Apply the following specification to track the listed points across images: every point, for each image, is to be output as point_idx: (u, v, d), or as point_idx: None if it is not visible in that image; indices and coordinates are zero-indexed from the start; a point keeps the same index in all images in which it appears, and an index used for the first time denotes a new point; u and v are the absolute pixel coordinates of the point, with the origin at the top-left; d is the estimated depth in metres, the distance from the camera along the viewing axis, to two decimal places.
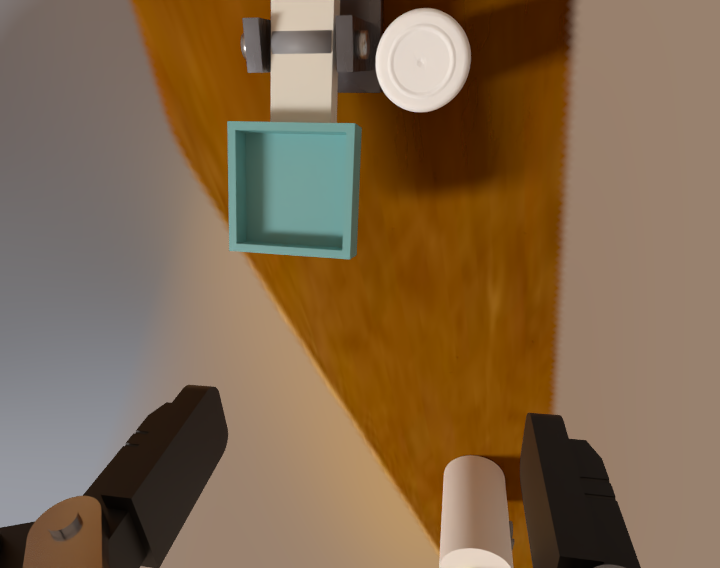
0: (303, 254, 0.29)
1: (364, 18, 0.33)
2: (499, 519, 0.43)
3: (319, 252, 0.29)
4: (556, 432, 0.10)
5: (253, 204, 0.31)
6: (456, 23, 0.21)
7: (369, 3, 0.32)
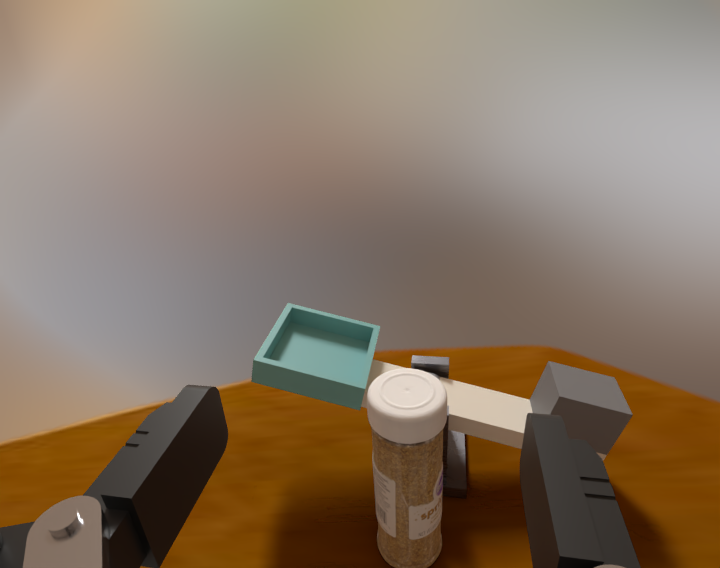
0: (269, 336, 0.35)
1: (450, 475, 0.36)
2: None
3: (267, 344, 0.34)
4: (556, 432, 0.10)
5: (316, 332, 0.39)
6: (434, 412, 0.25)
7: (462, 480, 0.36)
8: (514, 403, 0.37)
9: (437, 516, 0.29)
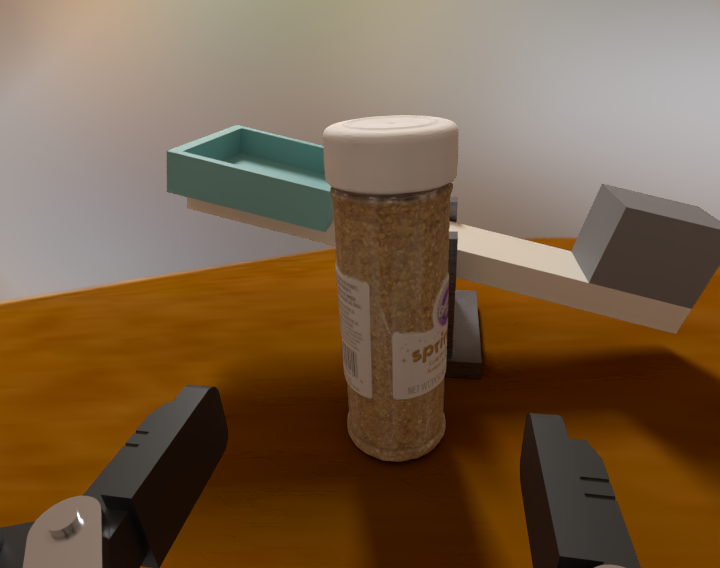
0: (199, 140, 0.24)
1: (458, 349, 0.25)
2: None
3: (193, 144, 0.23)
4: (556, 432, 0.10)
5: (274, 163, 0.28)
6: (436, 133, 0.14)
7: (475, 353, 0.25)
8: (550, 251, 0.26)
9: (438, 365, 0.18)
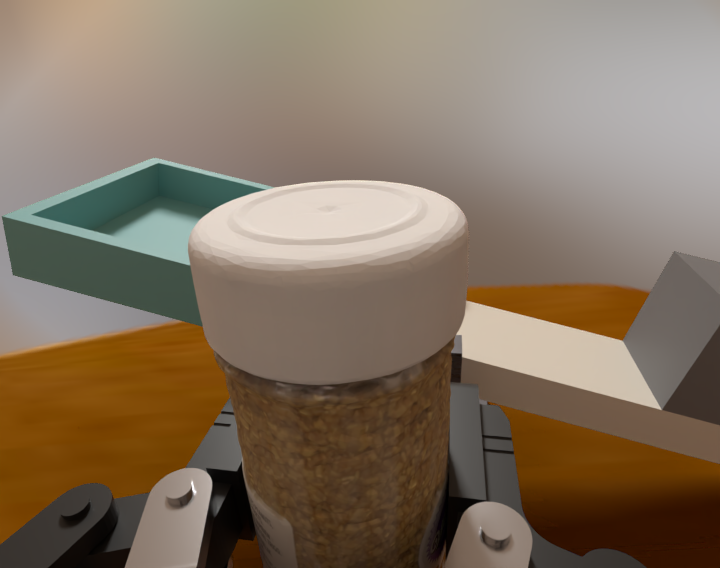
0: (76, 189, 0.16)
1: None
2: None
3: (59, 199, 0.15)
4: (469, 397, 0.11)
5: (205, 212, 0.20)
6: (420, 255, 0.06)
7: None
8: (594, 345, 0.18)
9: None
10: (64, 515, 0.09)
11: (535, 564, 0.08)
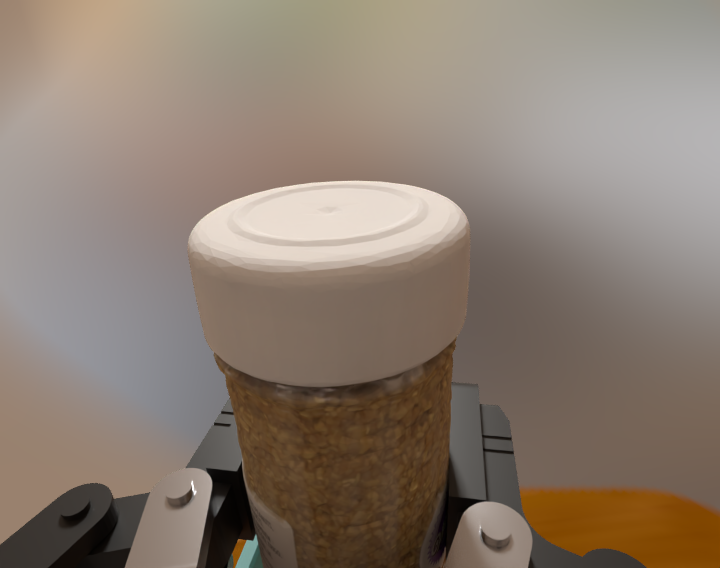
0: None
1: None
2: None
3: None
4: (470, 397, 0.11)
5: None
6: (421, 257, 0.06)
7: None
8: None
9: None
10: (64, 515, 0.09)
11: (535, 564, 0.08)
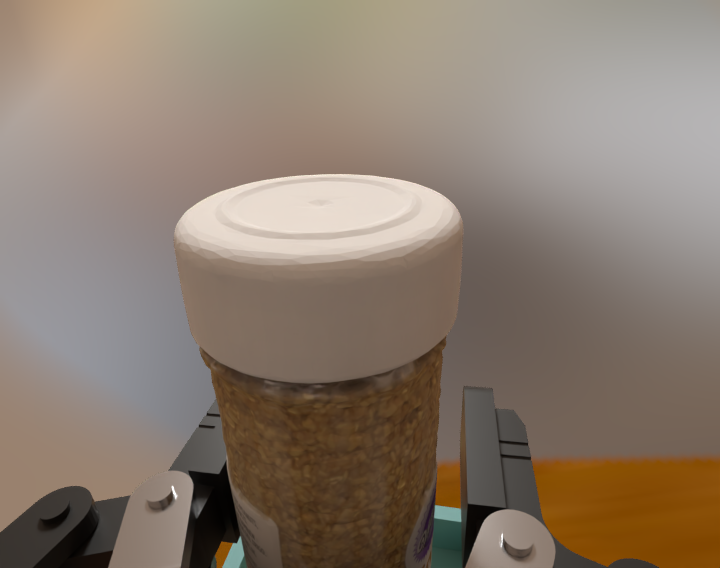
0: None
1: None
2: None
3: None
4: (484, 402, 0.11)
5: None
6: (415, 252, 0.06)
7: None
8: None
9: None
10: (44, 519, 0.09)
11: None
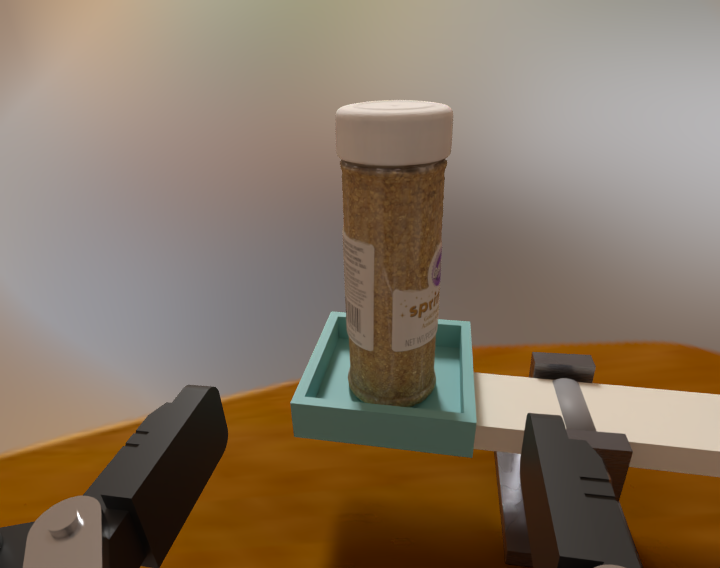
0: (310, 362, 0.23)
1: None
2: None
3: (308, 376, 0.22)
4: (556, 432, 0.10)
5: None
6: (435, 114, 0.17)
7: None
8: (713, 405, 0.23)
9: (431, 321, 0.21)
10: None
11: None
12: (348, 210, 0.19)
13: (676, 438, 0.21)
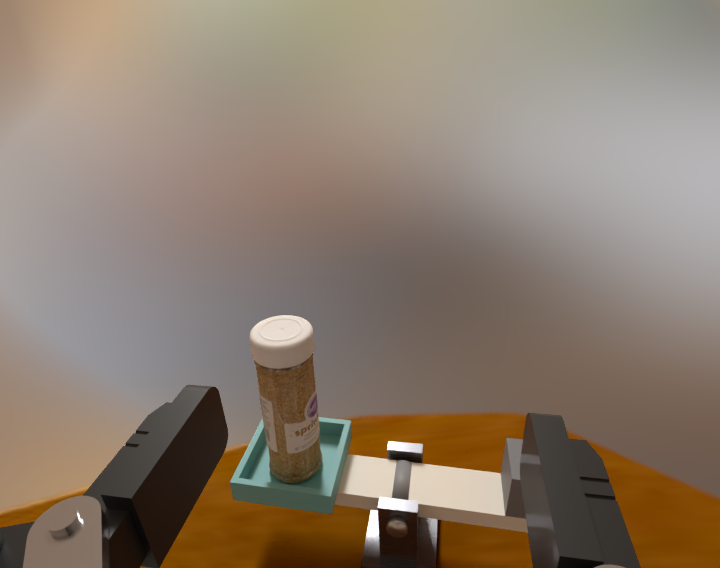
0: (246, 452, 0.39)
1: (421, 560, 0.38)
2: None
3: (243, 462, 0.38)
4: (556, 432, 0.10)
5: None
6: (297, 344, 0.32)
7: (432, 566, 0.38)
8: (484, 480, 0.38)
9: (311, 435, 0.36)
10: None
11: None
12: (258, 381, 0.35)
13: (451, 502, 0.37)
